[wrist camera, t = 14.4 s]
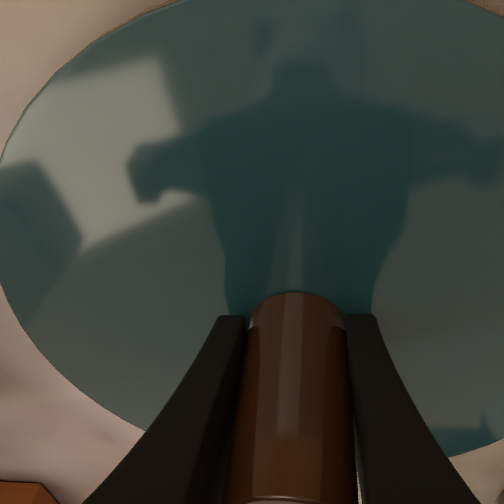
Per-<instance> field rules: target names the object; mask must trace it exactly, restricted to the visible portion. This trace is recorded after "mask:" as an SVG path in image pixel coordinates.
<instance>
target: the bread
mask: <svg viewBox="0 0 504 504" xmlns="http://www.w3.org/2000/svg"><path fill="white" fill-rule="evenodd" d="M0 504H58V503H57V502H56V501H55V499H54V498H53V497H52V496H51V495H50V494H49V493H48V491H47V490H46V489H45V488H44V487H43V486H42V485H41V484H38V483H20V482H2V481H0Z"/></svg>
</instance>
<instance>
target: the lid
mask: <svg viewBox="0 0 504 504" xmlns="http://www.w3.org/2000/svg"><path fill="white" fill-rule="evenodd" d="M0 283H1V286H2V288H3V291H4V293H5V296H6V299H7V301H8V303H9V305H10V307H11V308H12V310H13V312H14V314H15V316H16V318H17V319H18V321H19V323H20V325H21V327H22V328H23V329H24V331H25V332H26V333H27V335H28V336H29V338H30V339H31V340H32V342H33V343H34V344H35V346H36V347H37V349H38V350H39V351H40V352H41V353H42V354H43V355H44V356H45V358H46V359H47V360H48V361H49V362H50V363H51V364H52V365H53V366H54V367H55V368H56V370H57V371H58V372H60V373H61V374H62V375H63V376H64V377H65V378H66V379H67V380H69V381H70V382H71V383H72V384H73V385H74V386H75V387H76V388H78V389H79V390H80V391H81V392H83V393H84V394H85V395H87V396H88V397H90V398H91V399H92V400H94V401H95V402H96V403H98V404H99V405H100V406H102V407H103V408H105V409H107V410H108V411H110V412H112V413H113V414H115V415H116V416H118V417H120V418H121V419H123V420H125V421H127V422H128V423H130V424H132V425H134V426H136V427H138V428H140V429H142V430H144V431H146V430H147V429H148V428H149V426H150V425H151V424H152V422H153V421H154V420H155V418H156V417H157V416H158V414H159V413H160V411H161V410H162V409H163V407H164V406H165V404H166V403H167V401H168V400H169V399H170V397H171V396H172V394H173V393H174V391H175V390H176V388H177V387H178V385H179V384H180V382H181V381H182V379H183V377H184V376H185V374H186V373H187V371H188V369H189V368H190V366H191V364H192V363H193V361H194V360H195V358H196V356H197V354H198V353H199V351H200V349H201V347H202V346H203V344H204V342H205V340H206V338H207V337H208V335H209V333H210V331H211V329H212V327H213V325H214V323H215V321H216V319H217V318H218V317H219V316H220V315H244V320H245V325H246V329H247V336H246V342H245V349H244V355H243V362H242V368H241V374H240V381H239V387H238V394H237V401H236V407H235V414H234V420H233V427H232V433H231V440H230V447H229V453H228V460H227V466H226V473H225V479H224V486H223V492H222V499H221V504H359V502H358V486H357V472H358V469H357V462H356V454H355V438H354V422H353V406H352V391H351V382H350V374H349V367H348V352H347V335H346V314H373V315H374V316H375V317H376V318H377V322H378V326H379V329H380V332H381V335H382V337H383V340H384V342H385V345H386V347H387V350H388V352H389V354H390V357H391V359H392V361H393V363H394V365H395V368H396V370H397V372H398V374H399V376H400V378H401V380H402V382H403V383H404V385H405V387H406V389H407V391H408V393H409V395H410V397H411V399H412V400H413V402H414V404H415V406H416V408H417V409H418V411H419V413H420V415H421V416H422V418H423V420H424V421H425V423H426V425H427V426H428V428H429V430H430V431H431V433H432V434H433V436H434V438H435V439H436V441H437V442H438V444H439V445H440V447H441V449H442V450H443V452H444V453H445V455H446V456H447V457H448V458H449V457H453V456H457V455H460V454H463V453H466V452H469V451H472V450H475V449H478V448H481V447H484V446H487V445H489V444H492V443H494V442H496V441H499V440H501V439H503V438H504V13H501V12H499V11H497V10H495V9H492V8H490V7H488V6H485V5H483V4H481V3H478V2H476V1H474V0H169V1H166V2H163V3H161V4H158V5H155V6H153V7H150V8H148V9H146V10H144V11H143V12H141V13H139V14H137V15H136V16H134V17H132V18H130V19H128V20H127V21H125V22H123V23H121V24H120V25H118V26H116V27H114V28H113V29H111V30H109V31H107V32H106V33H104V34H102V35H101V36H100V37H98V38H97V39H96V40H95V41H93V42H92V43H91V44H90V45H88V46H87V47H86V48H85V49H84V50H82V51H81V52H80V53H79V54H77V55H76V56H75V57H74V58H72V59H71V60H70V61H69V62H68V63H66V64H65V65H64V66H63V67H61V68H60V69H59V70H58V71H57V72H55V74H54V75H53V76H52V77H51V78H50V79H49V81H48V82H47V83H46V84H45V85H44V86H43V88H42V89H41V90H40V91H39V92H38V93H37V95H36V96H35V97H34V98H33V99H32V100H31V102H30V103H29V104H28V105H27V106H26V108H25V110H24V111H23V113H22V115H21V117H20V118H19V120H18V122H17V124H16V125H15V127H14V129H13V131H12V132H11V134H10V136H9V138H8V139H7V141H6V144H5V147H4V149H3V152H2V155H1V158H0Z"/></svg>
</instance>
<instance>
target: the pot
mask: <svg viewBox="0 0 504 504" xmlns="http://www.w3.org/2000/svg"><path fill="white" fill-rule="evenodd" d="M497 504H504V489H503V491H502V493H501V494H500V496H499V498H498V500H497Z"/></svg>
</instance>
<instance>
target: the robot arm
mask: <svg viewBox="0 0 504 504" xmlns="http://www.w3.org/2000/svg"><path fill="white" fill-rule="evenodd" d="M346 335H347V352H348V367H349V374H350V382H351V391H352V406H353V422H354V438H355V454H356V462H357V469H358V476H359V483H360V490H361V498H362V504H481V503H480V502H479V501H478V499H477V498H476V497H475V496H474V494H473V493H472V492H471V490H470V489H469V487H468V486H467V485H466V483H465V482H464V480H463V479H462V478H461V476H460V475H459V473H458V472H457V471H456V469H455V468H454V466H453V465H452V463H451V462H450V460H449V459H448V457H447V456H446V455H445V453H444V452H443V450H442V449H441V447H440V445H439V444H438V442H437V441H436V439H435V438H434V436H433V434H432V433H431V431H430V430H429V428H428V426H427V425H426V423H425V421H424V420H423V418H422V416H421V415H420V413H419V411H418V409H417V408H416V406H415V404H414V402H413V400H412V399H411V397H410V395H409V393H408V391H407V389H406V387H405V385H404V383H403V382H402V380H401V378H400V376H399V374H398V372H397V370H396V368H395V365H394V363H393V361H392V359H391V357H390V354H389V352H388V350H387V347H386V345H385V342H384V340H383V337H382V335H381V332H380V329H379V326H378V322H377V318H376V317H375V316H374V315H373V314H346ZM246 336H247V329H246V325H245V320H244V315H220V316H219V317H218V318H217V319H216V321H215V323H214V325H213V327H212V329H211V331H210V333H209V335H208V337H207V338H206V340H205V342H204V344H203V346H202V347H201V349H200V351H199V353H198V354H197V356H196V358H195V360H194V361H193V363H192V364H191V366H190V368H189V369H188V371H187V373H186V374H185V376H184V377H183V379H182V381H181V382H180V384H179V385H178V387H177V388H176V390H175V391H174V393H173V394H172V396H171V397H170V399H169V400H168V401H167V403H166V404H165V406H164V407H163V409H162V410H161V411H160V413H159V414H158V416H157V417H156V418H155V420H154V421H153V422H152V424H151V425H150V426H149V428H148V429H147V430H146V432H145V433H144V434H143V436H142V437H141V438H140V439H139V441H138V442H137V443H136V444H135V445H134V447H133V448H132V449H131V450H130V452H129V453H128V454H127V455H126V456H125V457H124V459H123V460H122V461H121V462H120V463H119V464H118V465H117V467H116V468H115V469H114V470H113V471H112V472H111V473H110V474H109V476H108V477H107V478H106V479H105V480H104V481H103V482H102V483H101V484H100V485H99V486H98V488H97V489H96V490H95V491H94V492H93V493H92V494H91V495H90V496H89V497H88V498H87V499H86V500H85V501H84V502H83V503H82V504H221V499H222V492H223V486H224V479H225V473H226V466H227V460H228V453H229V447H230V440H231V433H232V427H233V420H234V414H235V407H236V401H237V394H238V387H239V381H240V374H241V368H242V362H243V355H244V349H245V342H246Z"/></svg>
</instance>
